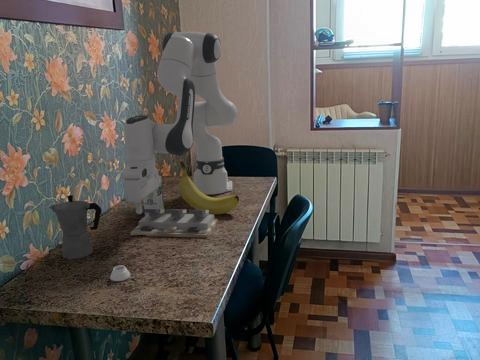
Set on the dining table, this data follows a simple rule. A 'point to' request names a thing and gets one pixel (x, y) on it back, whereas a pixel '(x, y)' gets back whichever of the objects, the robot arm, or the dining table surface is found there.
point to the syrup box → (156, 198)
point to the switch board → (174, 231)
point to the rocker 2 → (175, 212)
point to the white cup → (119, 273)
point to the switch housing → (177, 221)
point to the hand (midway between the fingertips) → (145, 208)
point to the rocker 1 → (154, 212)
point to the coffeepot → (76, 227)
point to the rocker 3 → (199, 213)
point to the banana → (204, 196)
